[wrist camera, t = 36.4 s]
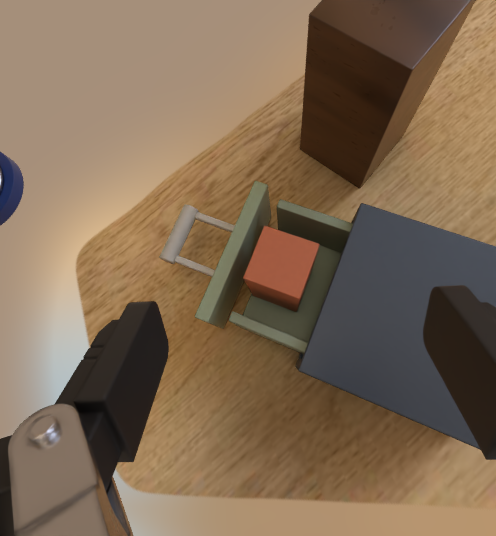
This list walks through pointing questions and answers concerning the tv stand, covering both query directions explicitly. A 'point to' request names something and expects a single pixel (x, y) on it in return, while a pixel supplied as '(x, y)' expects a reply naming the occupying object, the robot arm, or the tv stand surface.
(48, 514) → the robot arm
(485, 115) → the tv stand surface
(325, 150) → the stand
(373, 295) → the cabinet
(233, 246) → the drawer
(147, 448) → the tv stand surface
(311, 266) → the block
